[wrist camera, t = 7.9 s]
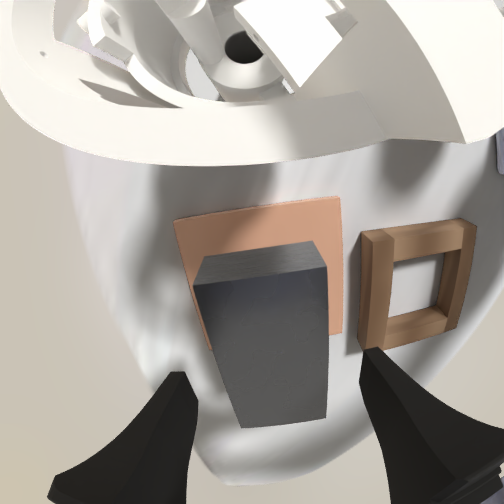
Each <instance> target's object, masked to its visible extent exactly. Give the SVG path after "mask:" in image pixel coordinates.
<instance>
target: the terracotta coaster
mask: <svg viewBox="0 0 504 504" xmlns="http://www.w3.org/2000/svg"><path fill="white" fill-rule="evenodd" d="M173 225H174V230H175V234H176V238H177V242H178V246H179V249H180V253H181V257H182V261H183V264H184V268H185V272H186V275H187V279H188V283H189V286H190V290H191V293H192V296H193V300H194V303H195V306H196V310H197V313H198V316H199V319H200V323H201V326H202V329H203V332H204V335H205V338H206V341H207V344H208V347H209V350H212V347H211V344H210V341H209V338H208V335H207V332H206V329H205V326H204V323H203V319H202V316H201V313H200V310H199V307H198V303H197V300H196V297H195V293H194V290H193V286H192V285H193V283H194V280H195V278H196V275H197V273H198V270H199V268H200V265H201V263H202V261H203V258H204V256H210V255H217V254H224V253H231V252H237V251H244V250H251V249H258V248H264V247H271V246H278V245H285V244H292V243H299V242H305V241H312V240H313V242H314V244H315V246H316V247H317V249H318V251H319V253H320V254H321V256H322V258H323V260H324V262H325V263H326V265H327V273H328V304H329V335H333V334H339V333H342V323H343V243H342V221H341V205H340V197H338V196H331V197H323V198H314V199H306V200H298V201H291V202H283V203H276V204H269V205H262V206H255V207H248V208H242V209H235V210H229V211H223V212H216V213H210V214H205V215H199V216H193V217H187V218H182V219H176V220H175V221H174V222H173Z"/></svg>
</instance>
